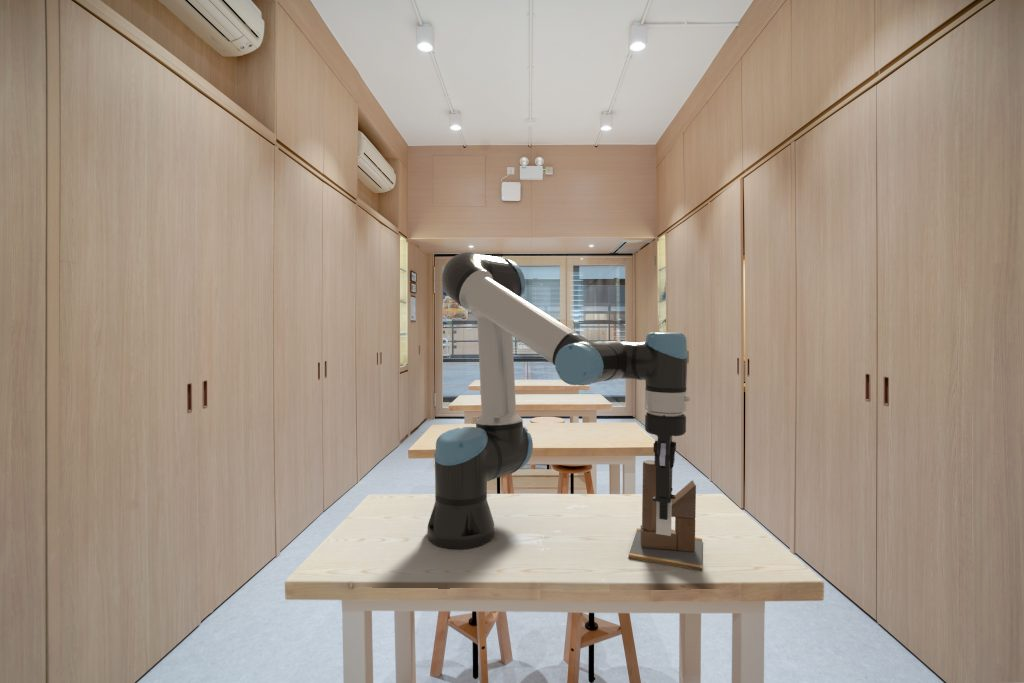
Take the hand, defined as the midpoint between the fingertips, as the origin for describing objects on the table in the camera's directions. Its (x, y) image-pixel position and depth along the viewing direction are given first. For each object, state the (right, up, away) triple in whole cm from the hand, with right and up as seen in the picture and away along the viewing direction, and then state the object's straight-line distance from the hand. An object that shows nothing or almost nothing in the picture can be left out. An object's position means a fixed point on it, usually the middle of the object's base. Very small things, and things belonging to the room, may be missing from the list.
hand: (663, 533), depth 94 cm
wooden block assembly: (+4, -7, +9) cm, 12 cm away
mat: (+4, -7, +9) cm, 12 cm away
